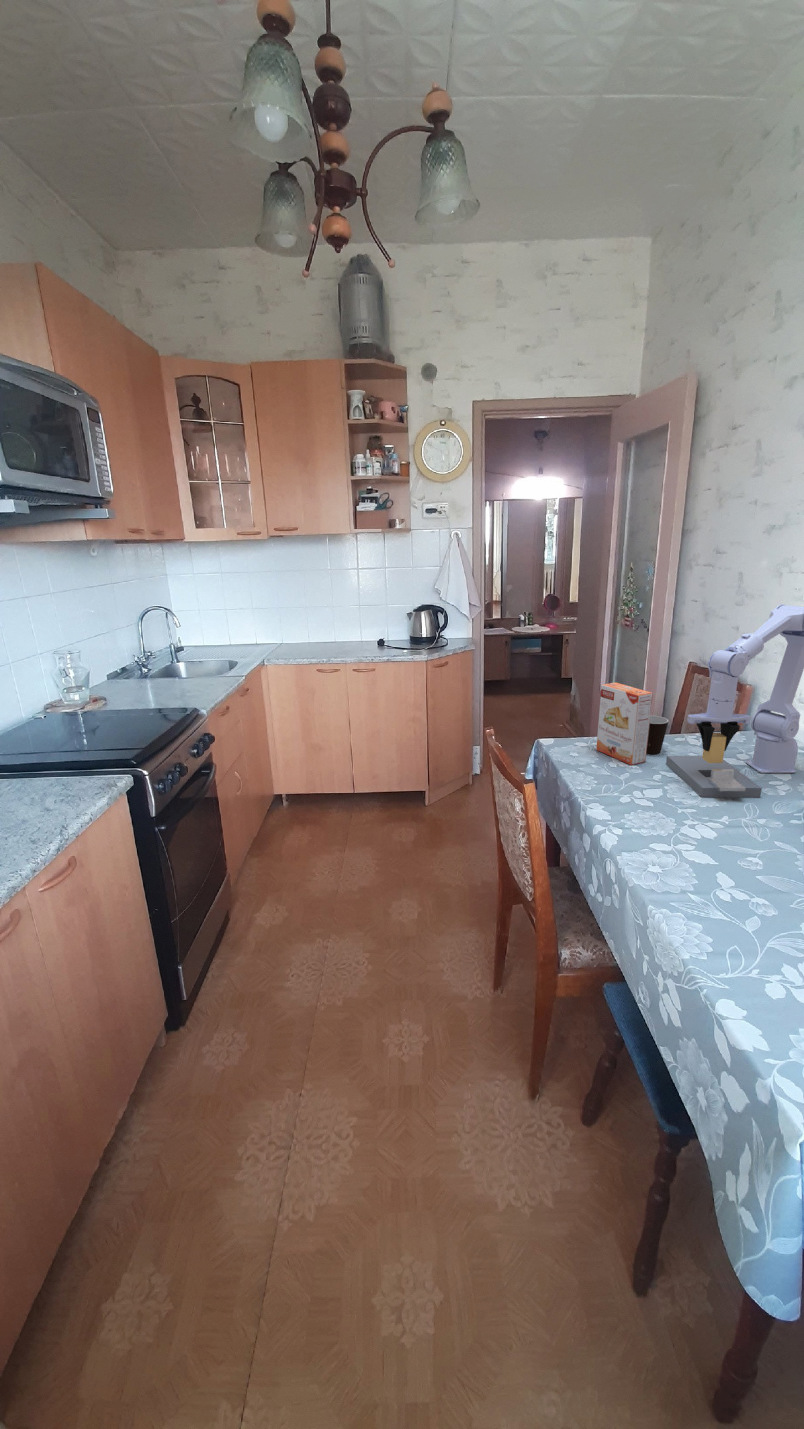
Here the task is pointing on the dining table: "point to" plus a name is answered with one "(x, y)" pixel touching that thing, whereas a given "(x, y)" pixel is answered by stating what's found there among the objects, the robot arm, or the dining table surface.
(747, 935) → the dining table surface
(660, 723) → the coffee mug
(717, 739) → the plug
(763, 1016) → the dining table surface
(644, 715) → the cracker box
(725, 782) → the panel
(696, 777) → the socket plate
